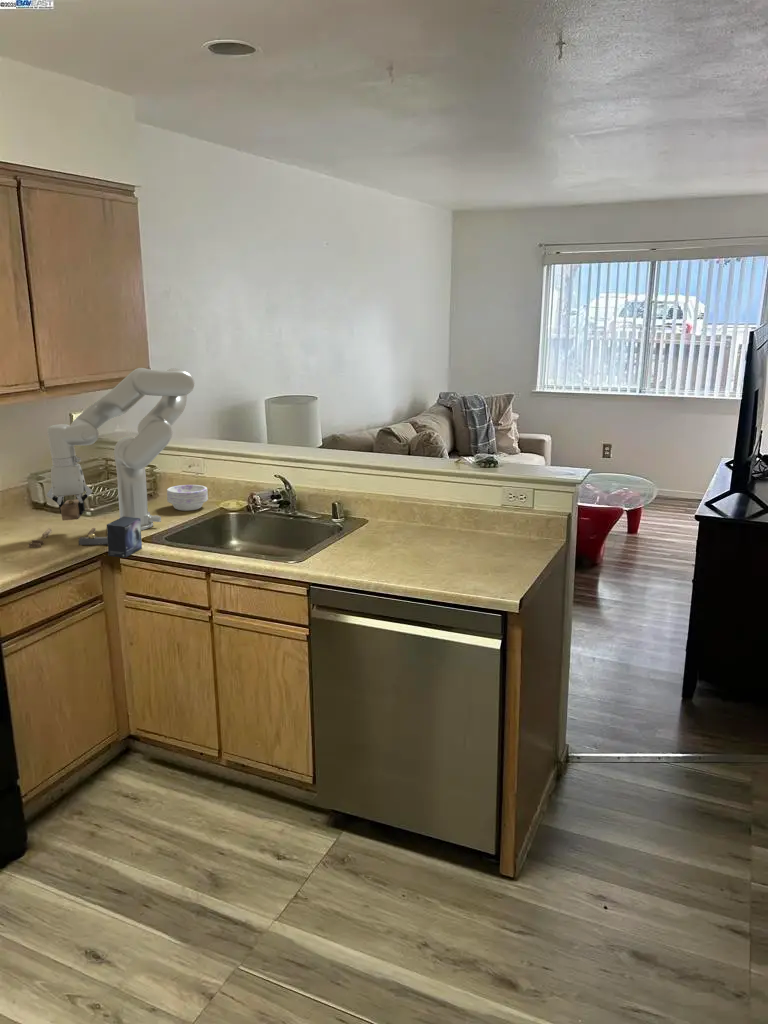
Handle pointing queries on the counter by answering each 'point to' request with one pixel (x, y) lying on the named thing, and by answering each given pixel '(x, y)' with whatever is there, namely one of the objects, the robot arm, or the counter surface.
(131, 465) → the robot arm
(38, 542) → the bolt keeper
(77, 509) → the cap block
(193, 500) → the paper bowls
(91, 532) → the bolt guide rails
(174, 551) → the counter surface
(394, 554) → the counter surface
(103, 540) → the bar
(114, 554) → the small box
